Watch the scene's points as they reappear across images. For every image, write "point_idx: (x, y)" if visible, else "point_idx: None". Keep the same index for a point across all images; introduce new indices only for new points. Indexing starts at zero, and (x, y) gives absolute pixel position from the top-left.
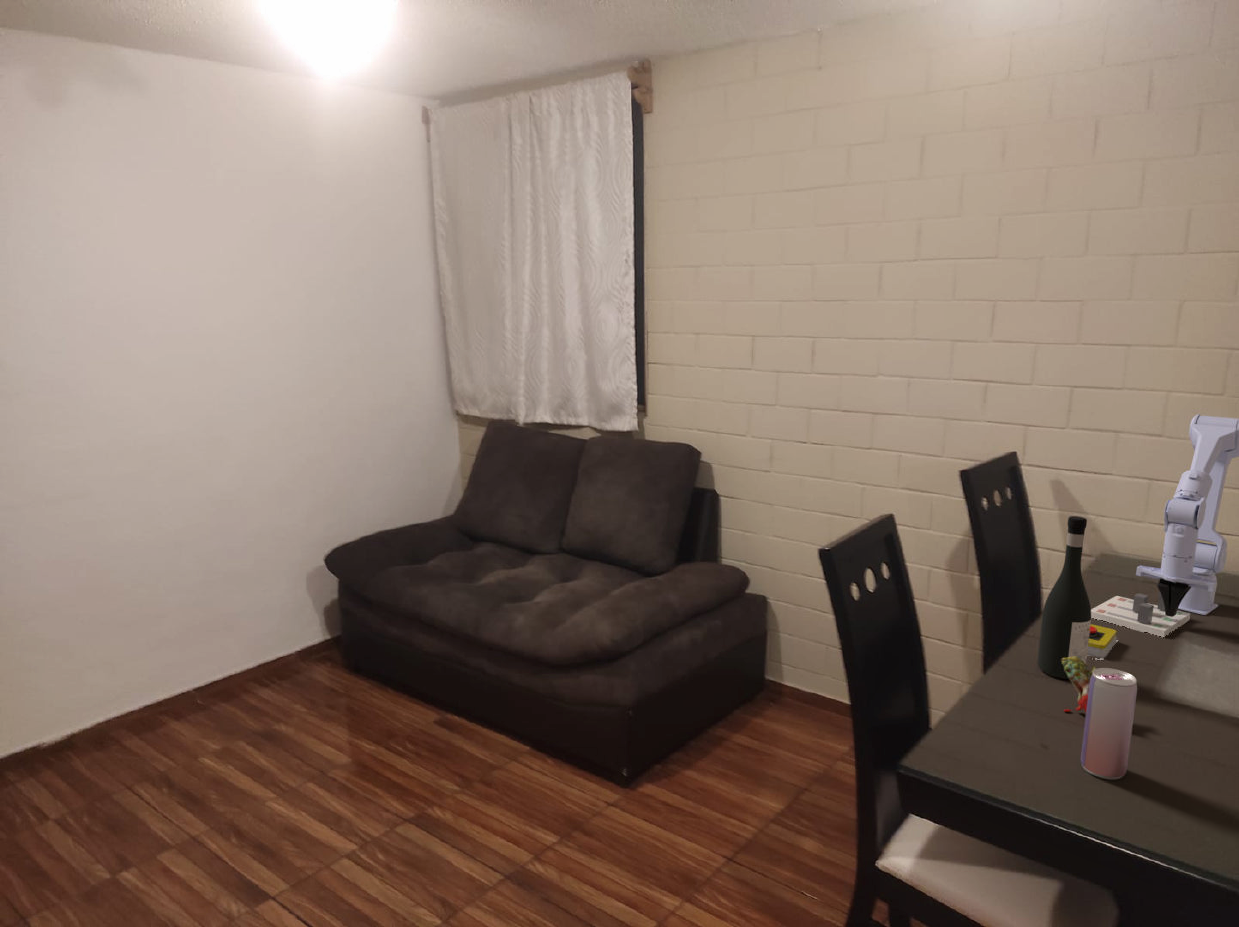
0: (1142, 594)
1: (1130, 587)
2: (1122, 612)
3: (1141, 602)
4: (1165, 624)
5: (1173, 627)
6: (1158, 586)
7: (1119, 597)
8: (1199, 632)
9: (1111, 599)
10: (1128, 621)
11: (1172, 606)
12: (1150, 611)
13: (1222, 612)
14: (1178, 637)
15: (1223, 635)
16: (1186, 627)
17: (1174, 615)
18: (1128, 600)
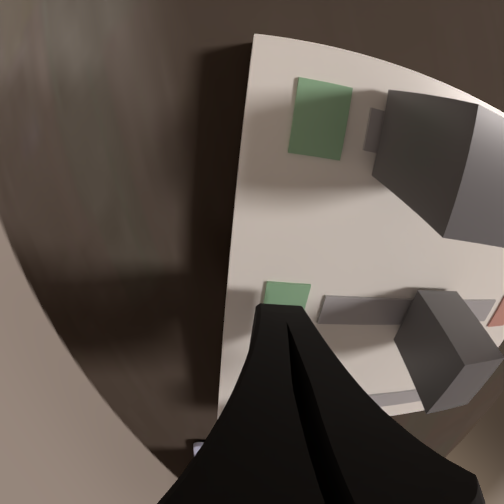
0: (453, 404)
1: None
2: (492, 248)
3: (458, 335)
4: (279, 196)
5: (232, 226)
6: (478, 485)
7: None
8: (131, 297)
9: None
10: (478, 100)
11: (269, 357)
12: (437, 135)
13: (176, 464)
14: (179, 124)
15: (64, 320)
16: (198, 324)
17: (251, 333)
18: None
